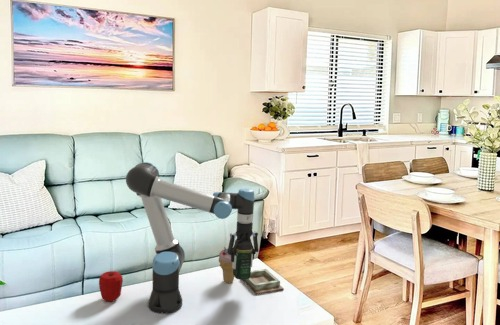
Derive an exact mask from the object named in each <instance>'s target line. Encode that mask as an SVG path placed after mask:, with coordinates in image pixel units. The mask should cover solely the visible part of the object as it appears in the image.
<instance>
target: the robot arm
mask: <svg viewBox="0 0 500 325" xmlns="http://www.w3.org/2000/svg"><path fill="white" fill-rule="evenodd" d="M125 183H126V184H125V185H126V186H127V187H128V188H129V190H130V191H132V192H133V193H135V194H136V196H138V197H139V198H141V201H142V204H143V207H144V210H145V213H146V216H147V219H148V222H149V223H148V224H149V226H150V228H151V231H152V235H153V237H154V240H155V241H154V242H155V243H156V245H155V246H154V250H155V254H156V255H154V256H153V259H152V263H151V266H152V267H151V268H152V290H151V293H150V296H149V299H148V304H147V305H148V309H149V310H150V311H151V312H154V313H156V314H170V313H171V314H172V313H175V312H177V311H179V310H180V309H182V307H183V297H182V294H181V292H180V289H179V288H180V287H179V283H180V277H179V276H180V271H181V269H182V266H183V264H184V262H185V257H186V256H185V250H184V248H183V247H182V246H181V245H180V242H179V240H178V239H176V238H175V236H174V234H173V230H172V227H171V225H170V224H171V223H170V221H169V218H168V215H167V212H166V209H165V206H164V202H163V200H166V201H170V202H172V203H173V202H174V203H177V204H180V205H183V206H187V207H190V208H193V209H196V210H200V211H203V212H206V213H210V214H213V215H214V216H215V217H216V218H218V219H221V220H224V219H226V218H229V216H230V215H231V213H232V211H233V210H237V213H236V214H237V216H236V231H235V233H230V234H229V238H230V239H229V243H228V248H227V249H228V251H227V253H228V254H229V255H231V262H232V268H233V269H236V255H235V254H236V252H237V244H238V243H241V242H242V241H244V240H246V241H249V242H251V243H252V241H253V243H252V257H251V268H253V261H254V260H255V255H256V254H257V253H258V252H259V250H260V249H259V243H258V235H259V233H258V232H257V231H256V230H255V231H253V224H254V222H253V221H254V206H255V191H254V190H253V189H252V188H240V189H238V192H226V191H223V192H222V191H214V192H213V193H212V194H209V193H206V192H203V191H199V190H196V189H192V188H190V187H185V186H183V185H181V184H176V183H173V182H169V181H166V180H163V179H160V172H159V169H158V167H157V166H156V165H155V164H153V163H151V162H148V161H144V162H140V163H138V164H136V165H135V166H133V167H132V168H131V169H129V171H128V172H127V173H126V176H125ZM236 237H237V238H236ZM251 237H252V239H251ZM235 240H236V243H237V244H236V243H235Z"/></svg>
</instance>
